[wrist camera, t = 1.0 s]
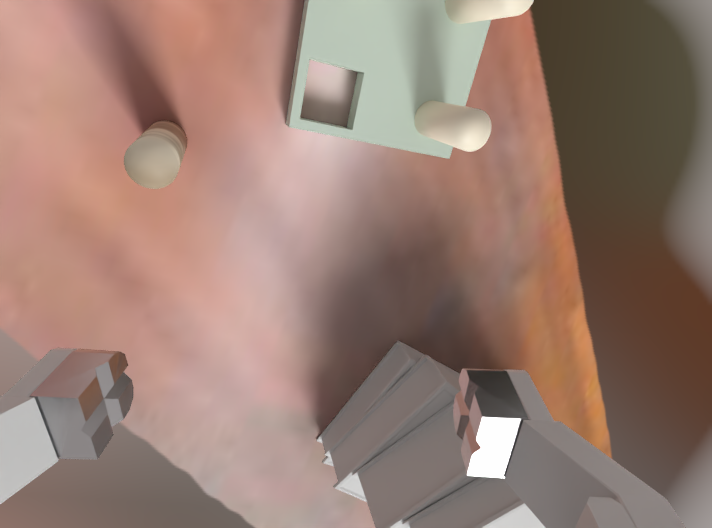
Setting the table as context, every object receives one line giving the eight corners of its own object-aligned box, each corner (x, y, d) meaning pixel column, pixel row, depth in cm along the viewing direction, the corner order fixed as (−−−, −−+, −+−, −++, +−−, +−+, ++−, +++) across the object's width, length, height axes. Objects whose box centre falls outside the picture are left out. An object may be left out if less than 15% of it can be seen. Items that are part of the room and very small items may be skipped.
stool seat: (318, -94, 40) (354, -148, 29) (492, -26, 47) (570, -50, 36) (285, 123, 47) (305, 141, 37) (440, 154, 54) (492, 177, 44)
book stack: (408, 315, 64) (510, 450, 42) (535, 389, 80) (656, 515, 58) (295, 453, 69) (332, 638, 47) (435, 496, 86) (511, 648, 64)
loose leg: (146, 116, 43) (124, 134, 33) (188, 124, 44) (180, 144, 34) (145, 155, 44) (123, 184, 34) (186, 162, 46) (177, 191, 35)
